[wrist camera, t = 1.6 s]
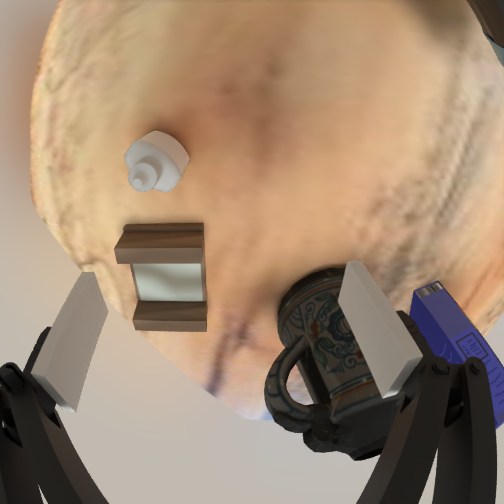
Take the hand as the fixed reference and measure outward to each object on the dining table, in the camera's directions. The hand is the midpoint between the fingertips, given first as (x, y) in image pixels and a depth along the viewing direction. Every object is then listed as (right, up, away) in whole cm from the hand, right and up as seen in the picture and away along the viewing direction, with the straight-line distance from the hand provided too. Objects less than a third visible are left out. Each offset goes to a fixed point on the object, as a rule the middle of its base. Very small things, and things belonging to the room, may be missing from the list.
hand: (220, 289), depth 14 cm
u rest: (-10, -1, +23) cm, 25 cm away
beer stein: (+12, -7, +30) cm, 33 cm away
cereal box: (+36, -13, +36) cm, 53 cm away
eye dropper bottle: (-8, +13, +15) cm, 21 cm away
